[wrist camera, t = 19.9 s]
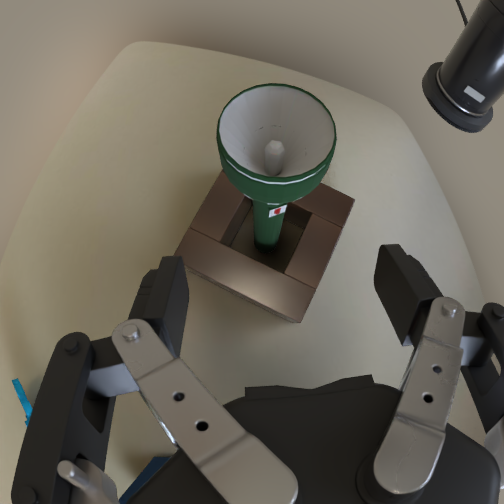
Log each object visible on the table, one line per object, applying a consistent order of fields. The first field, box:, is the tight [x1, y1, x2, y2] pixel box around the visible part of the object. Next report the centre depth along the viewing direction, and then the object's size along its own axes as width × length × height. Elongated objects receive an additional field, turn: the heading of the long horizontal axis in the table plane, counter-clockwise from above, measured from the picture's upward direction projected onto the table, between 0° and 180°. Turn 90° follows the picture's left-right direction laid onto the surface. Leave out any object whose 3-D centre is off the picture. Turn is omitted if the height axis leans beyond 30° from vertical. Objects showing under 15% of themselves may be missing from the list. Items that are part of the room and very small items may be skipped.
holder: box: [173, 169, 355, 323], centre depth 30 cm, size 12×12×5 cm
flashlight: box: [216, 83, 337, 253], centre depth 22 cm, size 5×5×20 cm
